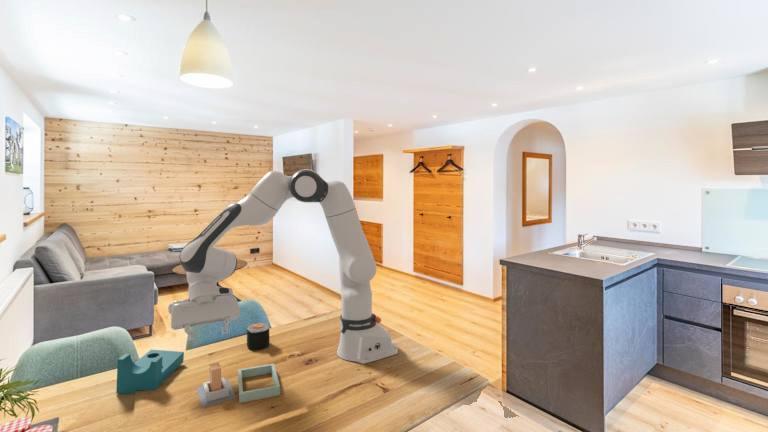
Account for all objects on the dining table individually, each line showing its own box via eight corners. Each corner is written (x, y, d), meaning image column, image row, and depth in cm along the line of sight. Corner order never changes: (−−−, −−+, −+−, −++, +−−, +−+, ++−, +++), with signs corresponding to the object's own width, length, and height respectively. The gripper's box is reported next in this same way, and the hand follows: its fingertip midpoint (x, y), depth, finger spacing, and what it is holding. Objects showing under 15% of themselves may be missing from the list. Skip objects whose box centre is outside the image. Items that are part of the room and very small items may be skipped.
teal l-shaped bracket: (154, 395, 112) (156, 361, 111) (116, 393, 111) (117, 359, 110) (183, 366, 130) (184, 336, 129) (150, 363, 129) (151, 334, 128)
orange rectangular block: (219, 388, 113) (218, 362, 112) (221, 394, 110) (220, 368, 109) (210, 390, 112) (209, 364, 111) (212, 397, 109) (211, 370, 108)
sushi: (249, 352, 139) (249, 331, 138) (245, 343, 146) (244, 323, 146) (271, 347, 143) (271, 327, 143) (266, 339, 150) (266, 319, 150)
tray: (274, 373, 124) (274, 363, 124) (280, 398, 110) (279, 386, 110) (238, 380, 120) (237, 369, 119) (239, 406, 106) (239, 394, 106)
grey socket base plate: (228, 382, 118) (228, 372, 118) (236, 401, 108) (236, 391, 108) (196, 390, 114) (196, 380, 113) (201, 411, 104) (201, 400, 103)
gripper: (168, 297, 118) (171, 338, 111) (237, 287, 129) (244, 325, 122) (167, 306, 123) (170, 347, 115) (234, 297, 133) (241, 333, 126)
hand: (209, 335), depth 119 cm, fingers open, 8 cm apart
